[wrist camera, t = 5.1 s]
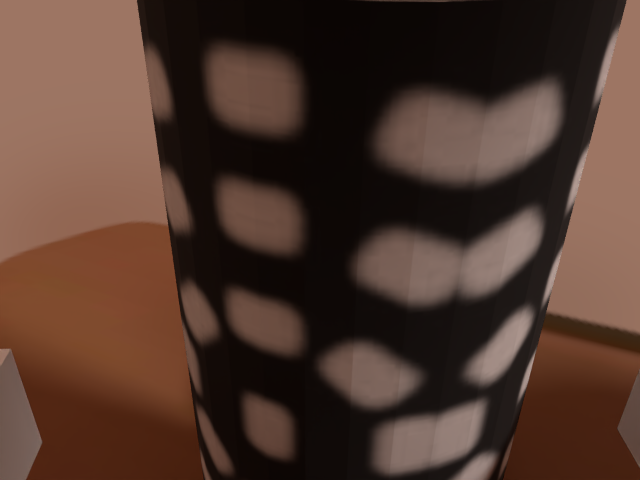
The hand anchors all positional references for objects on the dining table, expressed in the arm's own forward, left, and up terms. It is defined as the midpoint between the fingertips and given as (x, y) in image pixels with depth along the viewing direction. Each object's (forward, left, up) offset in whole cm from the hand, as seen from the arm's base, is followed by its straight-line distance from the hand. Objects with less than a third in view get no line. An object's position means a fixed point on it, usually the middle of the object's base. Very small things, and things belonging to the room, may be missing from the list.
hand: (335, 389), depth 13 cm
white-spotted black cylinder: (-1, -2, -12) cm, 12 cm away
